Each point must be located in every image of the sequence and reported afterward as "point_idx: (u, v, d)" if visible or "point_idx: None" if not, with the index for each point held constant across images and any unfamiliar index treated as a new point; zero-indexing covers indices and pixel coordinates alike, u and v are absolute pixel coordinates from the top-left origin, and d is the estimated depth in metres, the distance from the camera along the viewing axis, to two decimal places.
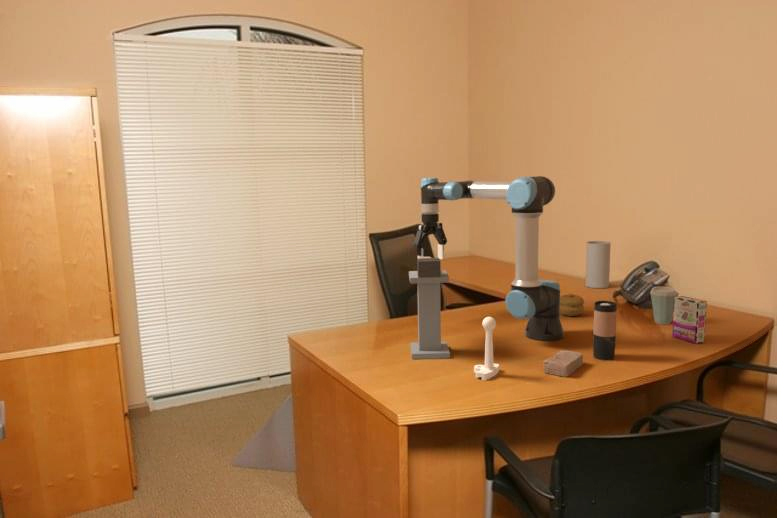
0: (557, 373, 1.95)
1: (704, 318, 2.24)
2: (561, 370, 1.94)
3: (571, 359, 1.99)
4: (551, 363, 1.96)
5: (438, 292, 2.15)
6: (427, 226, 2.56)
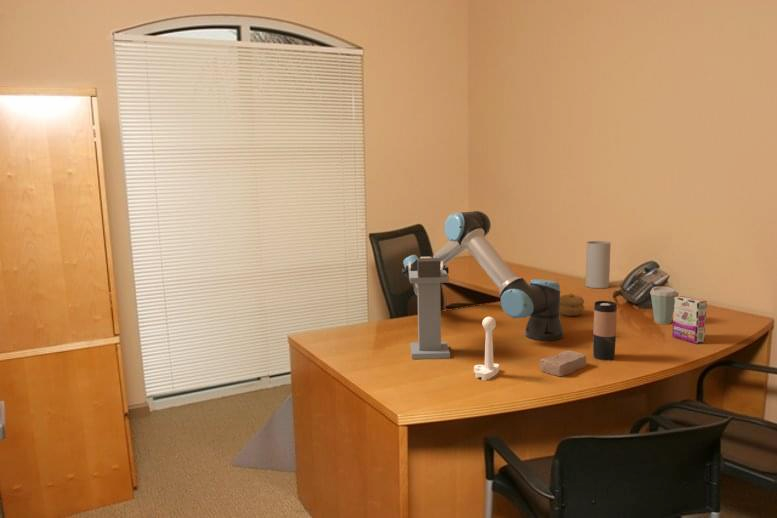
0: (552, 372, 1.96)
1: (704, 318, 2.24)
2: (555, 369, 1.95)
3: (570, 359, 1.99)
4: (547, 362, 1.97)
5: (438, 292, 2.15)
6: None
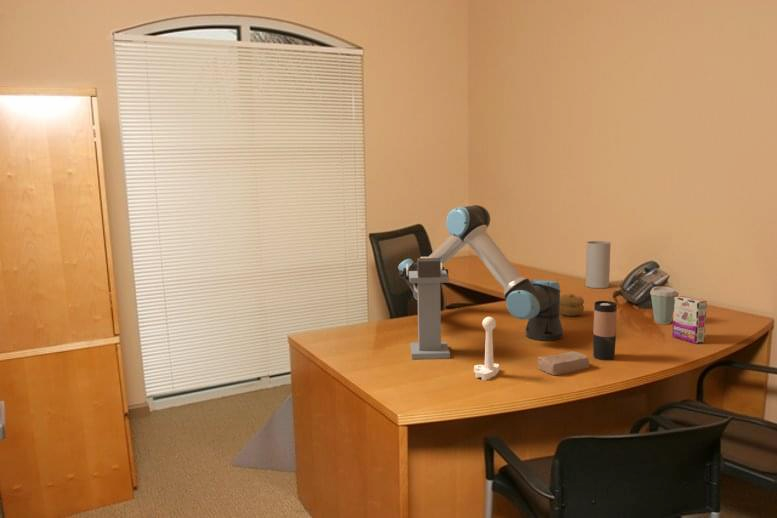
0: (547, 370, 1.97)
1: (704, 318, 2.24)
2: (549, 368, 1.96)
3: (568, 360, 1.99)
4: (543, 360, 1.99)
5: (438, 292, 2.15)
6: None
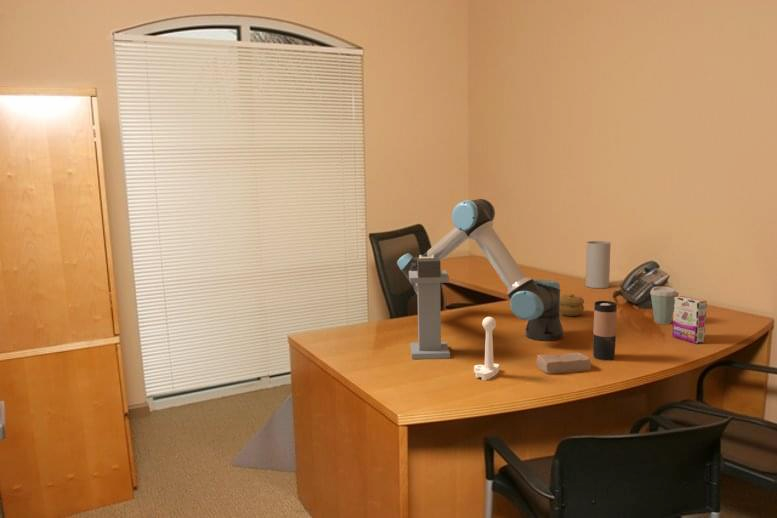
0: (542, 368, 1.99)
1: (704, 318, 2.24)
2: (544, 366, 1.98)
3: (566, 360, 1.99)
4: (540, 358, 2.01)
5: (438, 292, 2.15)
6: None
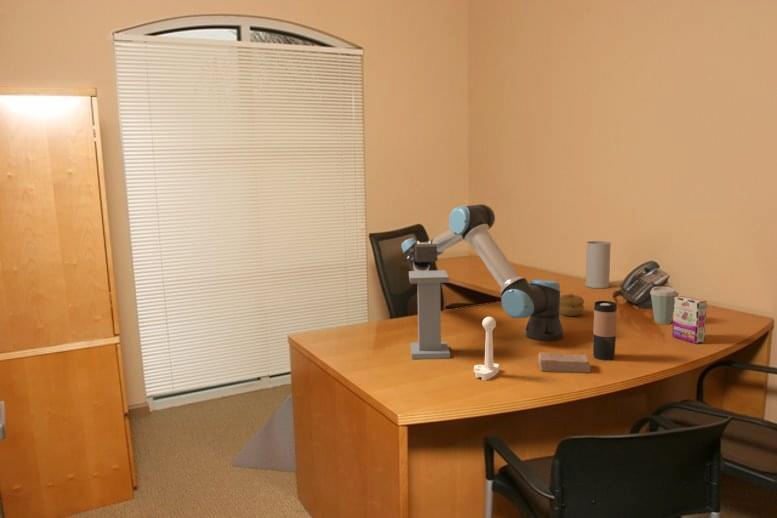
0: (539, 365, 2.02)
1: (704, 318, 2.24)
2: (539, 363, 2.01)
3: (563, 360, 1.99)
4: (539, 355, 2.04)
5: (438, 292, 2.15)
6: None
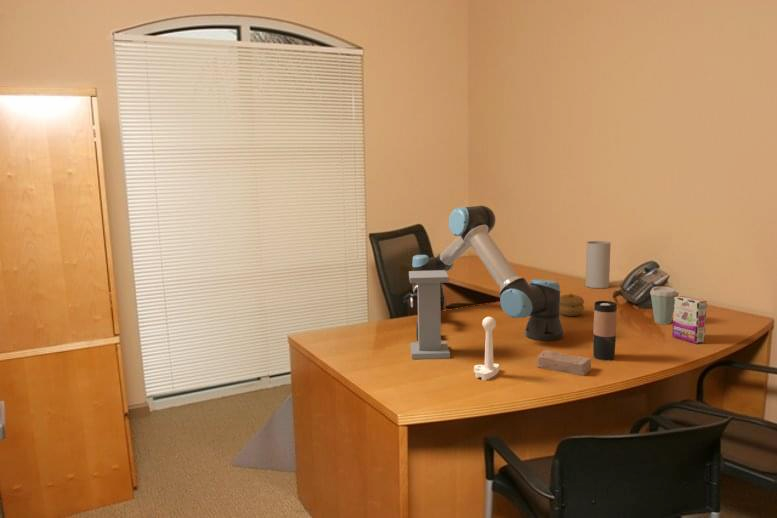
0: None
1: (704, 318, 2.24)
2: None
3: (560, 359, 2.00)
4: None
5: (438, 292, 2.15)
6: (415, 293, 2.63)
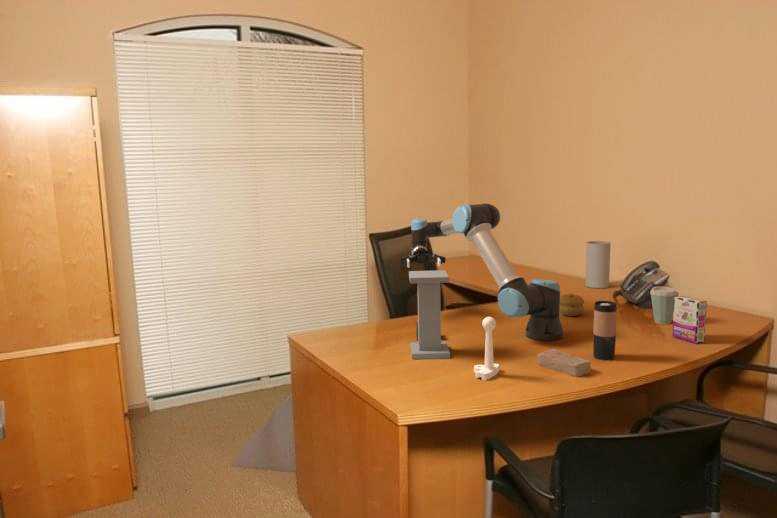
0: None
1: (704, 318, 2.24)
2: None
3: (557, 358, 2.00)
4: None
5: (438, 292, 2.15)
6: None
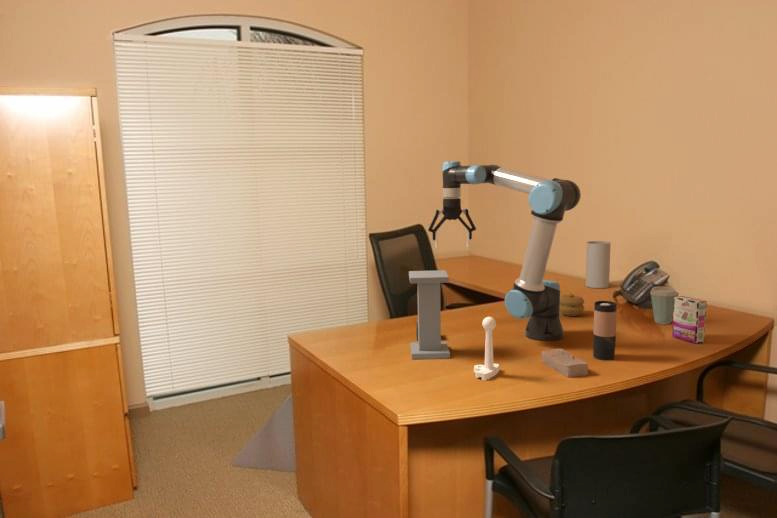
0: None
1: (704, 318, 2.24)
2: None
3: (556, 358, 2.01)
4: None
5: (438, 292, 2.15)
6: (444, 211, 2.50)
